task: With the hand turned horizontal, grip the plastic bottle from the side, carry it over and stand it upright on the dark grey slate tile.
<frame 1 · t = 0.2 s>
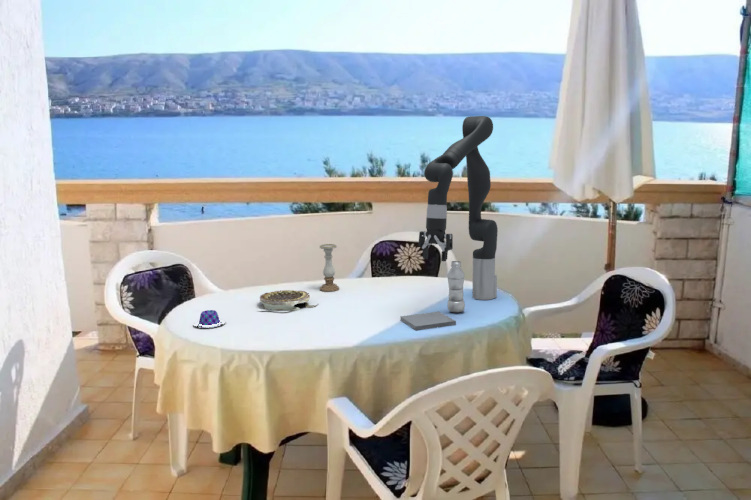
hand: (434, 260, 243), 22 cm above the table, tool pointing down, fingers open, 8 cm apart
slate tile: (427, 322, 239), on the table
pie: (285, 305, 270), on the table
plastic bottle: (456, 312, 252), on the table
candle holder: (329, 290, 293), on the table
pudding: (209, 325, 243), on the table
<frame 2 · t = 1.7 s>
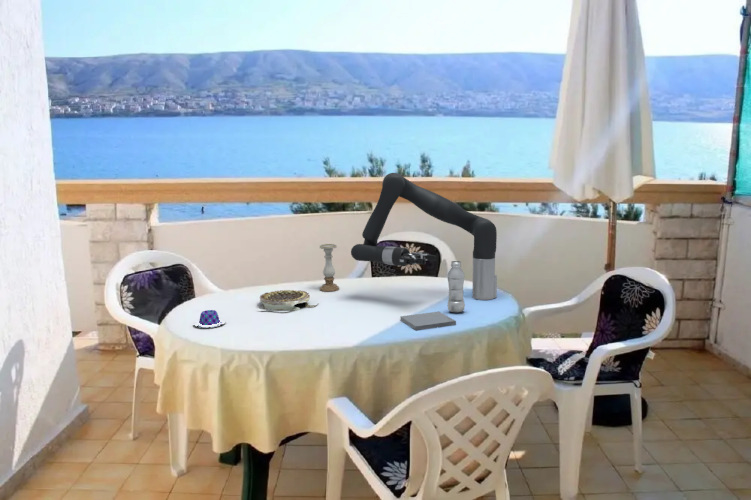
hand: (430, 260, 255), 20 cm above the table, tool horizontal, fingers open, 8 cm apart
nothing on the table moved.
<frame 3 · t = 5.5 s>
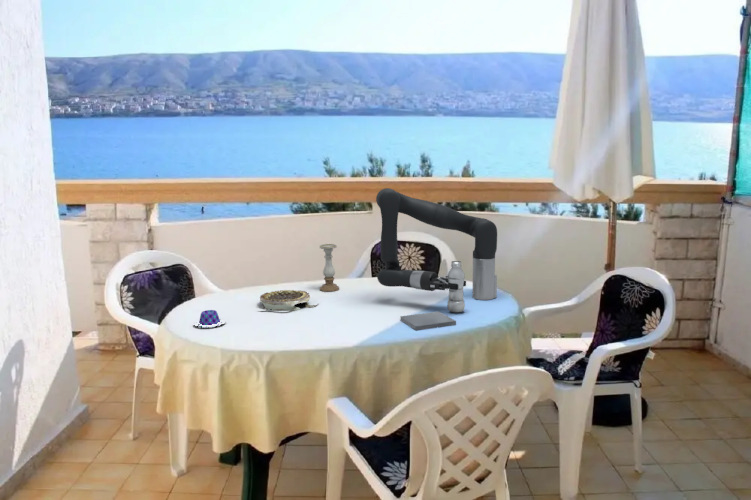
hand: (461, 285, 249), 11 cm above the table, tool horizontal, fingers closed on plastic bottle, 6 cm apart
plastic bottle: (456, 312, 252), on the table, touching gripper
everything else where it was.
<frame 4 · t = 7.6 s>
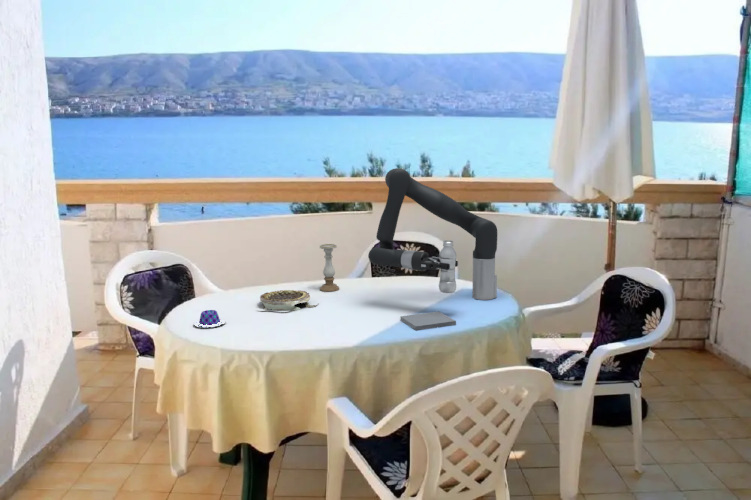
hand: (453, 265, 244), 20 cm above the table, tool horizontal, fingers closed on plastic bottle, 6 cm apart
plastic bottle: (447, 293, 248), point 8 cm above the table, touching gripper
everything else where it was.
when the fingers open (14 cm above the table, at t = 10.0 s): plastic bottle drops 1 cm, resting on slate tile.
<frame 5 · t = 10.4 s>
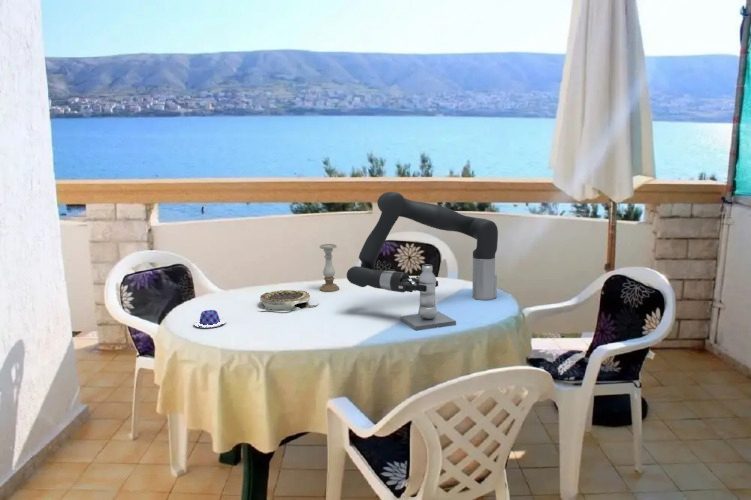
hand: (432, 286, 236), 14 cm above the table, tool horizontal, fingers open, 8 cm apart
plastic bottle: (427, 318, 239), point 1 cm above the table, touching slate tile
everything else where it was.
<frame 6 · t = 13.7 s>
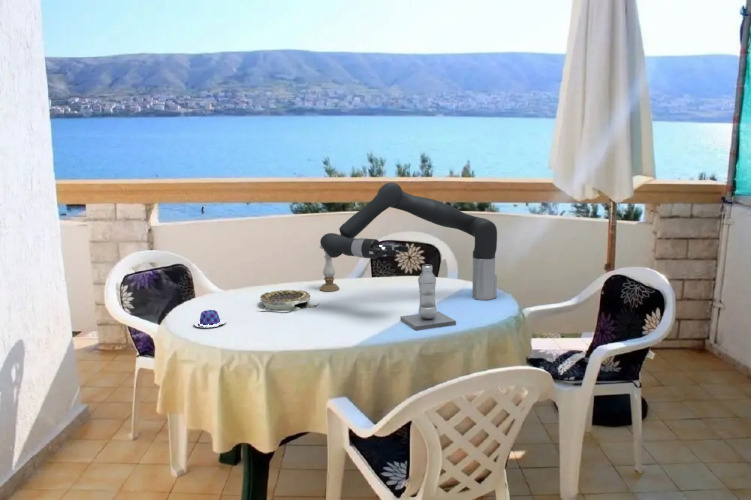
hand: (402, 251, 240), 26 cm above the table, tool horizontal, fingers open, 8 cm apart
nothing on the table moved.
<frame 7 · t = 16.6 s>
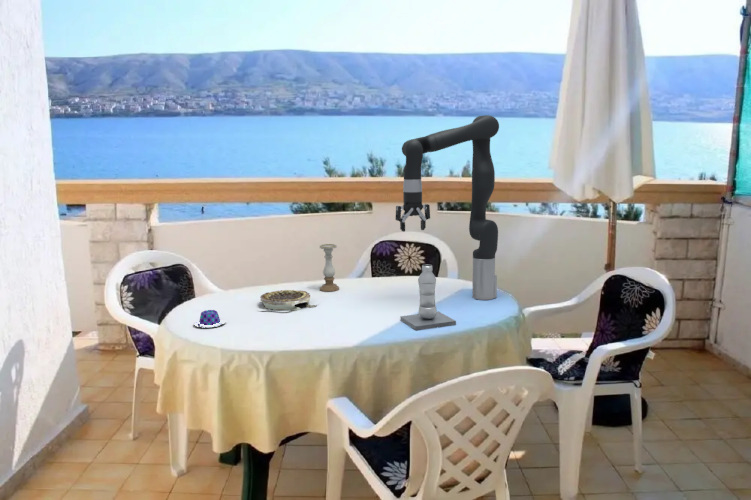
hand: (413, 230, 262), 30 cm above the table, tool pointing down, fingers open, 8 cm apart
at the end: plastic bottle inside the target area (0.3 cm from its centre), point 1.3 cm above the table; plastic bottle tilted 0°; the gripper is holding nothing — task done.
